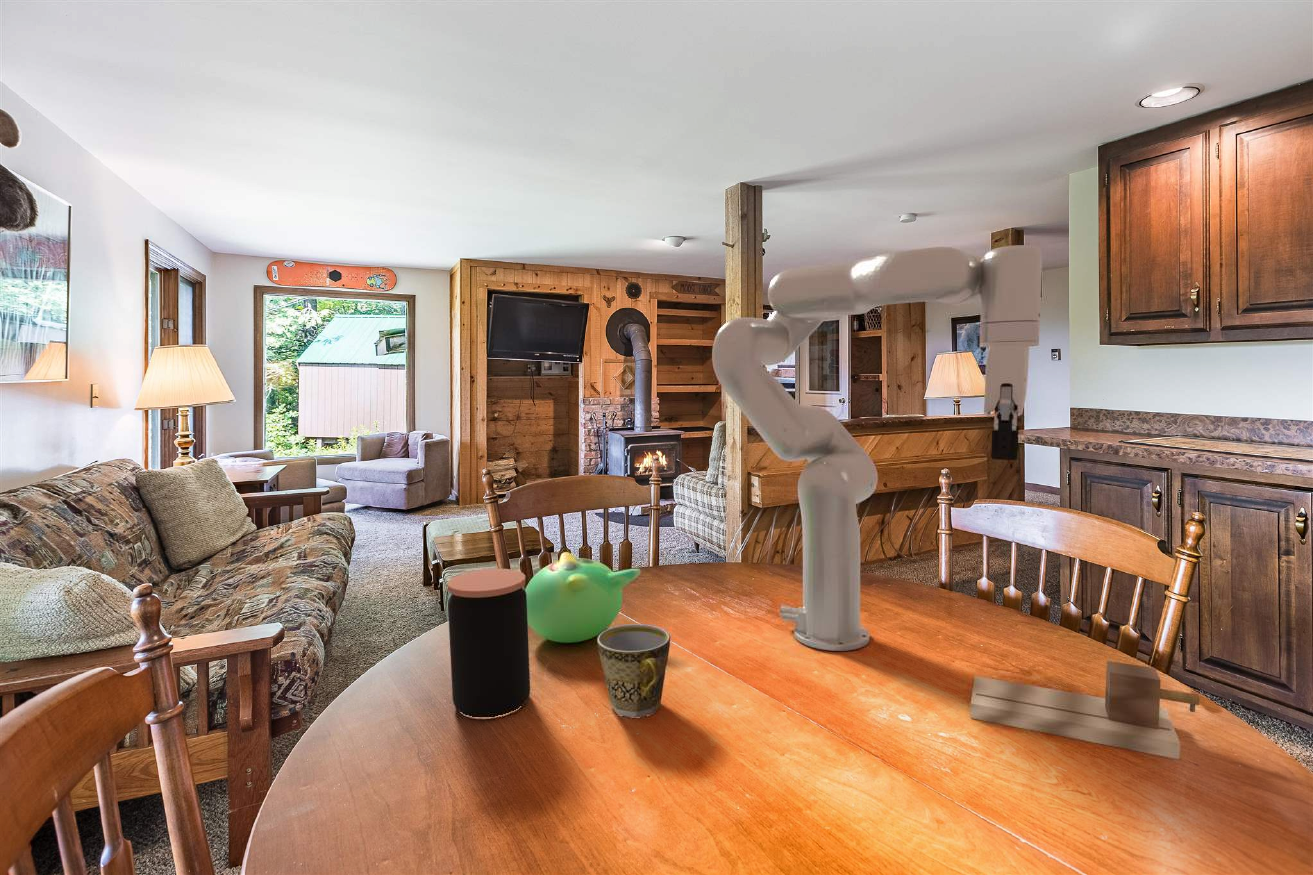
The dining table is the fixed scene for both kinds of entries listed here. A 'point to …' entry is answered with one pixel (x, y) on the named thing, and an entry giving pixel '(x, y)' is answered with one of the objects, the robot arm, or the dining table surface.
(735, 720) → the dining table surface
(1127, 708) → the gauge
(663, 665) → the ceramic cup
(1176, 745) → the board
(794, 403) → the robot arm
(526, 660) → the coffee jar
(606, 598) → the plump green bird figurine
